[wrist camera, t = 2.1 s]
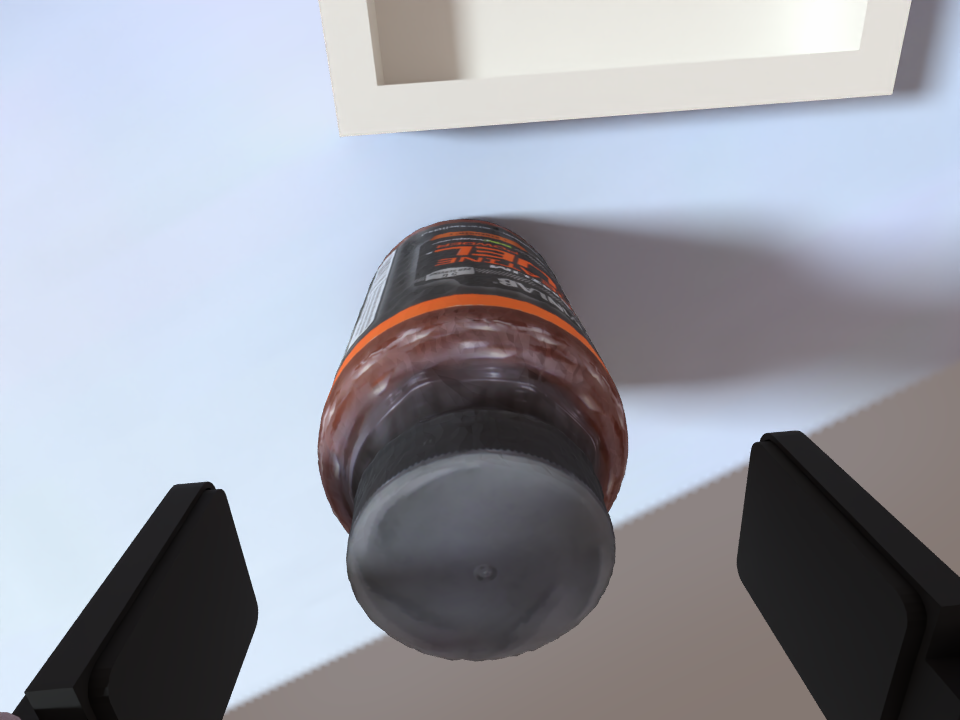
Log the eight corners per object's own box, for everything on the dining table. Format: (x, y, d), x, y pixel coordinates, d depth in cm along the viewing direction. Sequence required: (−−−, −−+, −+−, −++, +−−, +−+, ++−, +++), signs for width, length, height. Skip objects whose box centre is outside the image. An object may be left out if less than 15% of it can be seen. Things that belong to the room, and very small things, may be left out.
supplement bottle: (581, 239, 18) (765, 442, 8) (525, 406, 21) (610, 728, 10) (387, 189, 17) (309, 347, 7) (351, 370, 20) (254, 687, 9)
